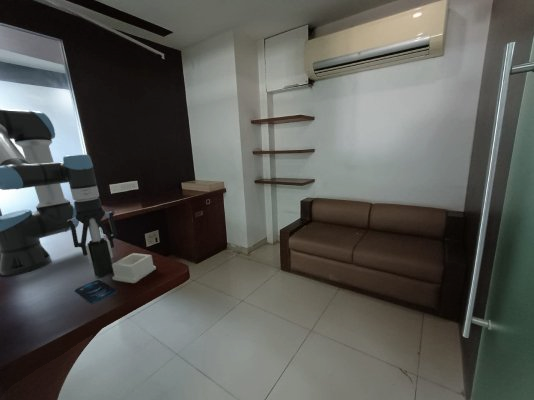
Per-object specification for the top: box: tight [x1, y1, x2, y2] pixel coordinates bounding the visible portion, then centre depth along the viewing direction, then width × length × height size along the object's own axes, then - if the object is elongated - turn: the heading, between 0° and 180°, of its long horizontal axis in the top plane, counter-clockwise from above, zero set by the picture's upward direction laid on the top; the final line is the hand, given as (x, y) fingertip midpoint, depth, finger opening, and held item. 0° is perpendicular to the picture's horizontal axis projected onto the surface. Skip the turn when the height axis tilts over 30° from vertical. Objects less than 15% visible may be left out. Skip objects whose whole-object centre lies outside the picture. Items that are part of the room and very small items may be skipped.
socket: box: [111, 252, 157, 284], centre depth 86 cm, size 10×10×6 cm
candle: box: [87, 218, 114, 278], centre depth 86 cm, size 5×5×25 cm
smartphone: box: [74, 279, 118, 305], centre depth 78 cm, size 8×1×15 cm
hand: (101, 259), depth 88 cm, fingers closed on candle, 6 cm apart
